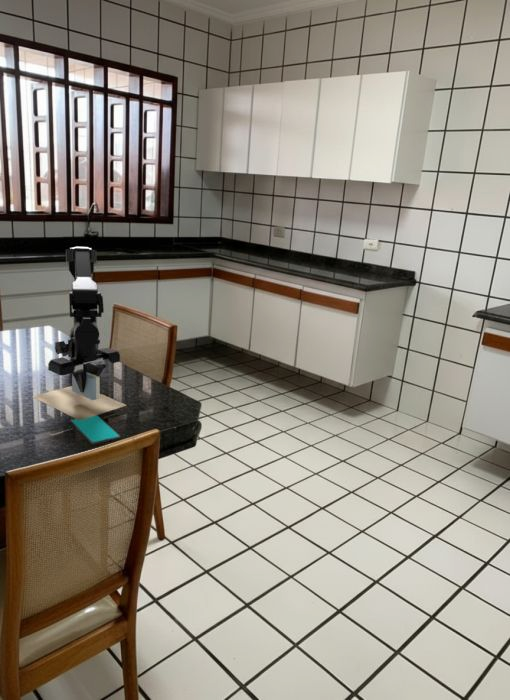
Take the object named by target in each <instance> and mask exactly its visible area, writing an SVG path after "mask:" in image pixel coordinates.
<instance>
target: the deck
mask: <svg viewBox="0 0 510 700" xmlns="http://www.w3.org/2000/svg"><path fill="white" fill-rule="evenodd" d="M100 381H101V380H100V376H99V377H98V376H96V375H93V374H91V373H89V372H87V374H86V383H85V390H84V393H82V392H80V390H79V387H78V385H77V383H76V380H75V378H74V376H73V375H72V374H71V384H72V385H71V386H72V391H73V392H75V393H78V394H80V395H82V396H84V397H87V398H89V399H91V400H95V399H99V398H100V394H101V393H100V392H101V391H100V389H101V388H100V384H101V382H100Z"/></svg>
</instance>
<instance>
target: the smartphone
mask: <svg viewBox="0 0 510 700" xmlns="http://www.w3.org/2000/svg"><path fill="white" fill-rule="evenodd" d="M69 421H70V422H71V423H72V424H73V427H74V428H75V429H76V430H77V431H78V432H79V434H81V435H82V437H83V438H84V439H85V440H86V441H87V442H89V444H90V445H92V446H93V445H97V444H102V443H105V442H110V441H114V440H120V439H121V438H122V436H121V435H120V434H119V433H118V432H117V431H116V430H115V429H114V428H112V427H111V425H109V424H108V423H107V422H106V421H105V420H104V419H103V418H101V416H99V415H95V416H92V417H89V418H86V419H83V420H78V419H75V418H73V419H69Z"/></svg>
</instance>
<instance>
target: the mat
mask: <svg viewBox="0 0 510 700" xmlns="http://www.w3.org/2000/svg"><path fill="white" fill-rule="evenodd" d="M31 397H32V398H34V399H35V400H37V401H40V402H42V403H43V404H46V405H48V406H49V407H51V408H54V409H55V410H57V411H59V412H62V413H64V414H65V415H67V416H69V417H71V418H73V419H78V420H83V419H86V418H89V417H92V416H95V415H98V416H99V415H102V414H104V413H108V412H111V411H114V410H118V409H120V408H124V407H127V404H125V403H123V402H121V401H118V400H116V399H113V398H111V397H109V396H106V395H105V394H102V393H100V398H99V399H95V400H91V399H89V398H87V397H84V396H82V395H80V394H78V393H75V392H73V391H72V385H70V386H66V387H62V388H59V389H55V390H51V391H47V392H43V393H41V394H37V395H32V396H31Z"/></svg>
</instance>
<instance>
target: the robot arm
mask: <svg viewBox="0 0 510 700" xmlns="http://www.w3.org/2000/svg"><path fill="white" fill-rule="evenodd" d="M97 261H98V259H97V249H96V250H95V249H92V247H88V246H74V247H73V246H72V247H69V248H67V249H65V262H66V265H67V264H68V271H69V272H70V274H71V276H72V277H73V279H74V280H73V282H72V283H71V291H69V292H68V299H69V301H68V302H69V303H68V304H69V318H73V326H72V328H71V329H70V331H69V337H68V338H67V343H66V342H65V341H64V340H62V341H56V342H55V343H54V350H55V353H56V355H61V357H57V358H54V359H50V360H49V362H48V363H47V364H48V366H47V367H48V368H47V370H48V371H50V372H52V373H54V374H56V375H59V376H65V375H70V374H71V376H72V375H73V376H74V378H75V380H76V383H77V385H78V387H79V390H80V392H82V393H84V390H85V383H86V374H87V372H89V373H91V374H93V375H96V376H98V377H100V376H101V374H102V373H103V371H104V369H106V368H107V365H106V364H104V361H106V360H108V361H109V362H110V363H111V364H114V363H115V364H116V363H119V362H121V354H120V352H119V350H115V349H114V348H113V349H112V348H110V347H105V348H100V349H99V344H101V339H100V331H99V327H98V323H97V322H98V321H97V320H98V319H97V318H102V315H103V314H104V312H105V311H104V308H105V307H104V298H103V295H102V292H101V291H98V283H96V282H95V281H94V280H93V279H92V278H93V277H92V274H93V273H94V271H95V265H96V264H97ZM66 357H68V359H67V358H66ZM69 358H70V359H69Z"/></svg>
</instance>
